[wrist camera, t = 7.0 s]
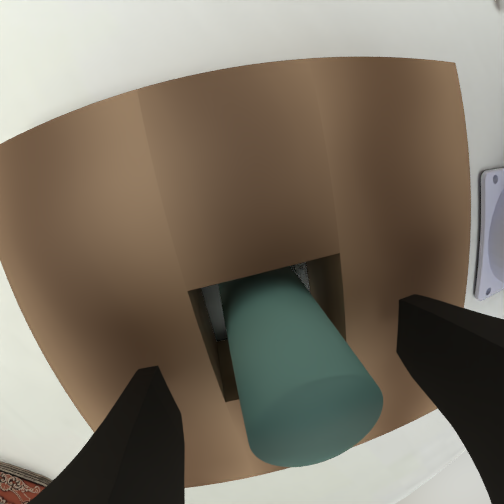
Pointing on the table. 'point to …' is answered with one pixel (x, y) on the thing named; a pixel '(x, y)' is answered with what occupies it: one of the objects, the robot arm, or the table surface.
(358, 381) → the peg
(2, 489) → the lighter
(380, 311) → the socket block
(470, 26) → the table surface
